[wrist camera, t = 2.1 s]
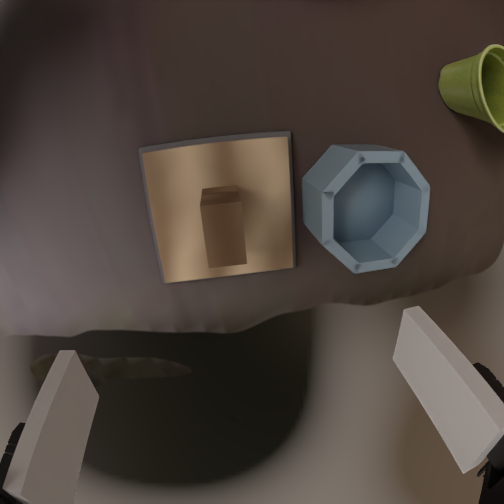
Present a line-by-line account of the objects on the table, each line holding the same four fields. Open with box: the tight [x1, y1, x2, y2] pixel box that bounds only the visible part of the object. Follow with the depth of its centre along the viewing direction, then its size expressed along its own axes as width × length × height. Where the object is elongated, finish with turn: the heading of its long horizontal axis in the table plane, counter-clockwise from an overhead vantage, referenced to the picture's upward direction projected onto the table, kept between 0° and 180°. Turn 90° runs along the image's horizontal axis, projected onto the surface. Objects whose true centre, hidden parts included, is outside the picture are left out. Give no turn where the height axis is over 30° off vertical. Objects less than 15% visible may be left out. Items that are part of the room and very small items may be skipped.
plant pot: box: [438, 44, 504, 133], centre depth 23 cm, size 9×9×9 cm
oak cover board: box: [142, 137, 293, 283], centre depth 27 cm, size 13×13×7 cm
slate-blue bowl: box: [302, 144, 430, 274], centre depth 28 cm, size 11×11×6 cm
